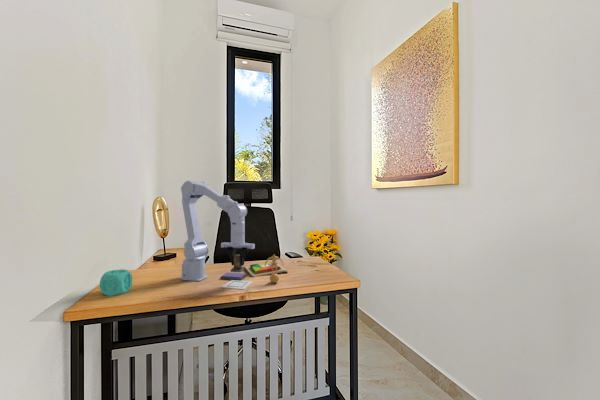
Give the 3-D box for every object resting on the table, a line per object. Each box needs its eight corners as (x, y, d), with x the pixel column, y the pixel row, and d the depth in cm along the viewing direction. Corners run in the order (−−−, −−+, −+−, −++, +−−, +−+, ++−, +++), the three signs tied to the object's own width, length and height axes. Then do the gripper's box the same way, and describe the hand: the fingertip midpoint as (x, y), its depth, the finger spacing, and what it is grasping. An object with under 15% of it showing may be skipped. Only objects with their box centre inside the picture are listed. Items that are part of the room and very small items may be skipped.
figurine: (264, 284, 119) (265, 256, 119) (264, 280, 125) (264, 253, 125) (284, 283, 121) (284, 256, 120) (283, 279, 127) (283, 253, 126)
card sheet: (221, 287, 115) (221, 287, 115) (232, 280, 125) (232, 279, 125) (244, 289, 113) (244, 288, 113) (253, 281, 123) (253, 281, 123)
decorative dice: (112, 289, 113) (111, 269, 113) (132, 288, 113) (132, 269, 113) (99, 296, 105) (99, 275, 105) (121, 295, 105) (121, 274, 105)
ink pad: (220, 279, 127) (220, 276, 127) (227, 274, 133) (227, 272, 133) (240, 280, 125) (240, 277, 125) (247, 276, 131) (247, 273, 131)
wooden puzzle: (243, 269, 146) (243, 262, 146) (277, 265, 153) (277, 259, 153) (250, 278, 130) (250, 270, 130) (288, 274, 137) (288, 266, 137)
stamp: (230, 271, 117) (230, 256, 117) (234, 268, 121) (234, 254, 121) (240, 272, 116) (240, 256, 116) (244, 269, 121) (244, 254, 120)
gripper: (217, 233, 116) (217, 266, 116) (250, 235, 113) (250, 268, 113) (225, 231, 123) (225, 262, 123) (256, 232, 120) (256, 264, 120)
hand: (237, 265), depth 119 cm, fingers closed on stamp, 3 cm apart
